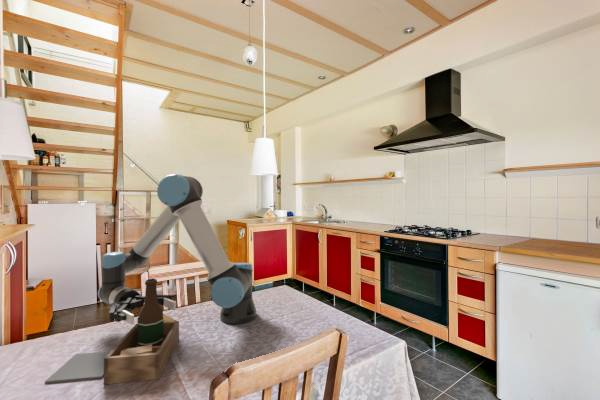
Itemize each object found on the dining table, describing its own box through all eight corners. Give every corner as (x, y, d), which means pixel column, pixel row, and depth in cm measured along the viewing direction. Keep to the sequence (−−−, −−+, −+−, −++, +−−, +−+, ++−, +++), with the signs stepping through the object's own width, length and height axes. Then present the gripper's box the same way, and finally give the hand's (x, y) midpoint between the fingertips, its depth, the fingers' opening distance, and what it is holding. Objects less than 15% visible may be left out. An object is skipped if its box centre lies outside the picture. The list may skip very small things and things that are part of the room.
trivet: (123, 352, 94) (123, 350, 94) (101, 378, 80) (101, 376, 80) (76, 355, 91) (76, 353, 91) (44, 383, 77) (44, 381, 77)
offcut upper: (152, 354, 87) (152, 344, 87) (152, 360, 83) (152, 350, 83) (121, 360, 83) (121, 350, 83) (119, 368, 79) (119, 357, 79)
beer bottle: (144, 347, 97) (144, 276, 97) (167, 346, 97) (168, 276, 97) (132, 360, 89) (132, 283, 89) (158, 359, 90) (158, 283, 90)
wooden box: (178, 340, 101) (178, 321, 101) (158, 379, 80) (158, 354, 80) (136, 343, 99) (136, 323, 99) (103, 384, 77) (103, 358, 77)
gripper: (158, 299, 114) (189, 311, 102) (84, 320, 94) (111, 339, 81) (158, 280, 114) (189, 290, 102) (84, 298, 94) (111, 313, 81)
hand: (155, 312), depth 91 cm, fingers open, 13 cm apart
